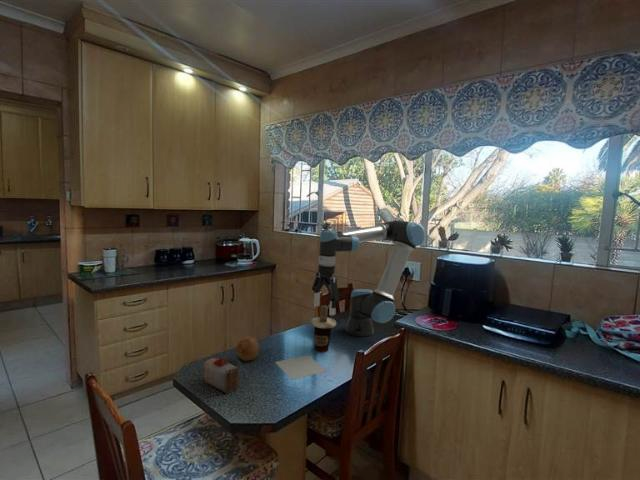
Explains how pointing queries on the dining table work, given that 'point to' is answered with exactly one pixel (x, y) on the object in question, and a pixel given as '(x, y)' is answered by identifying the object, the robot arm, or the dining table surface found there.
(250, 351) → the onion
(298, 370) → the mat
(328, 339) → the coffee cup
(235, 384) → the food item
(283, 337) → the dining table surface
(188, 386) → the dining table surface
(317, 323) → the lid
